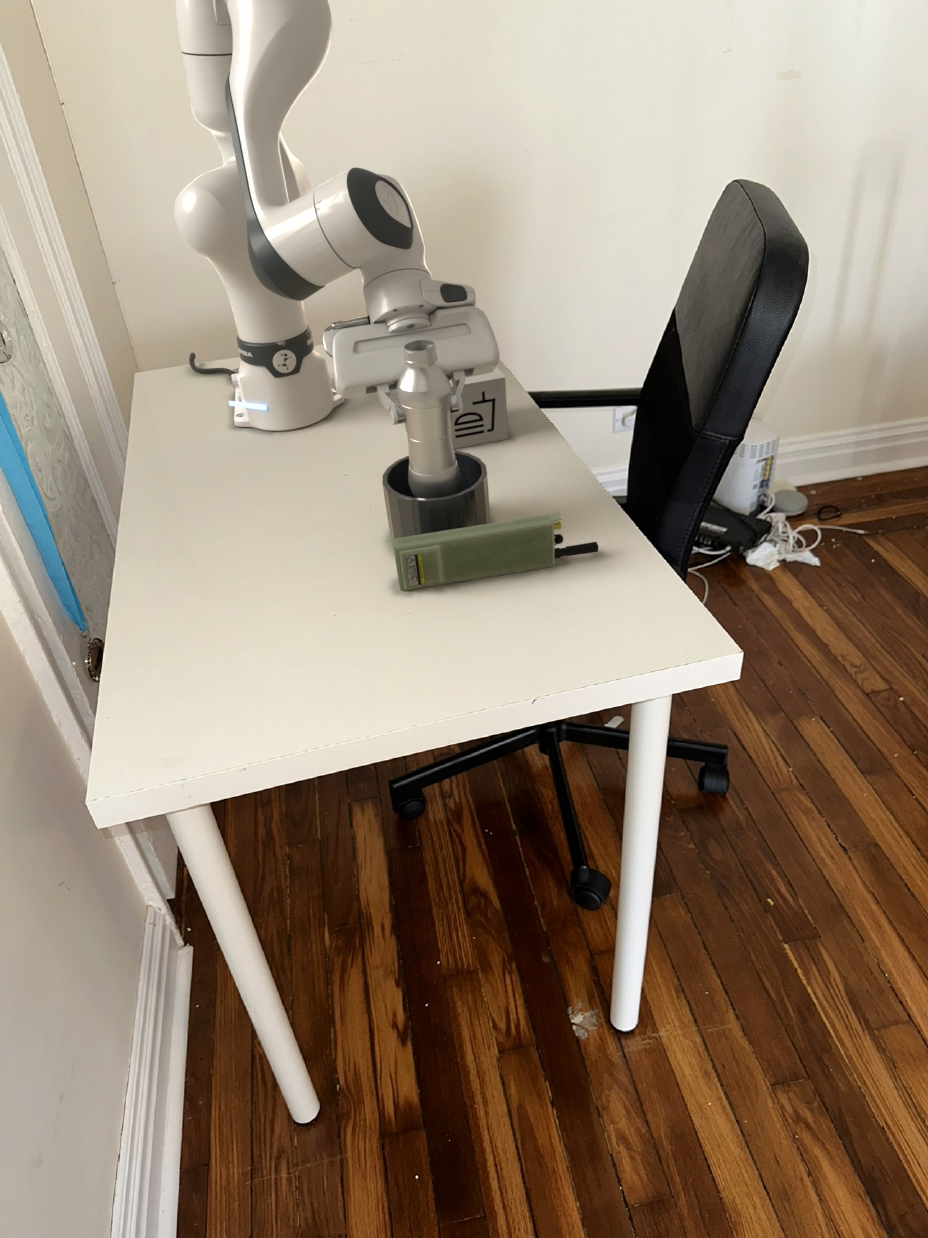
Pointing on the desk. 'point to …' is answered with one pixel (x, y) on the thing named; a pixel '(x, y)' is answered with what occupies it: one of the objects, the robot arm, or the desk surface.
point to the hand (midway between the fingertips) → (428, 416)
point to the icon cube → (480, 411)
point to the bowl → (436, 500)
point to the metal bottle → (428, 423)
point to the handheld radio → (482, 551)
